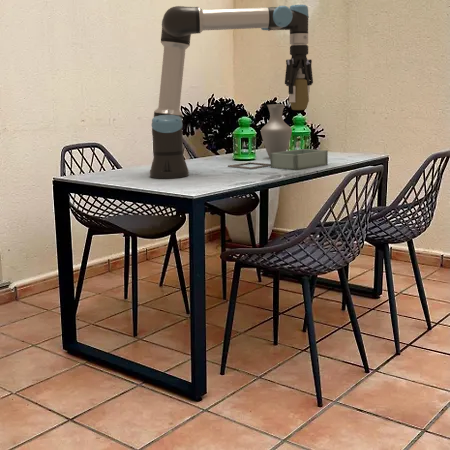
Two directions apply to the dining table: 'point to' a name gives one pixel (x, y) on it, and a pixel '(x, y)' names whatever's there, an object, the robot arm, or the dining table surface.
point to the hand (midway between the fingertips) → (299, 101)
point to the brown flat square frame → (249, 167)
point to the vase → (276, 131)
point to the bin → (299, 159)
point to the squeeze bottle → (300, 92)
